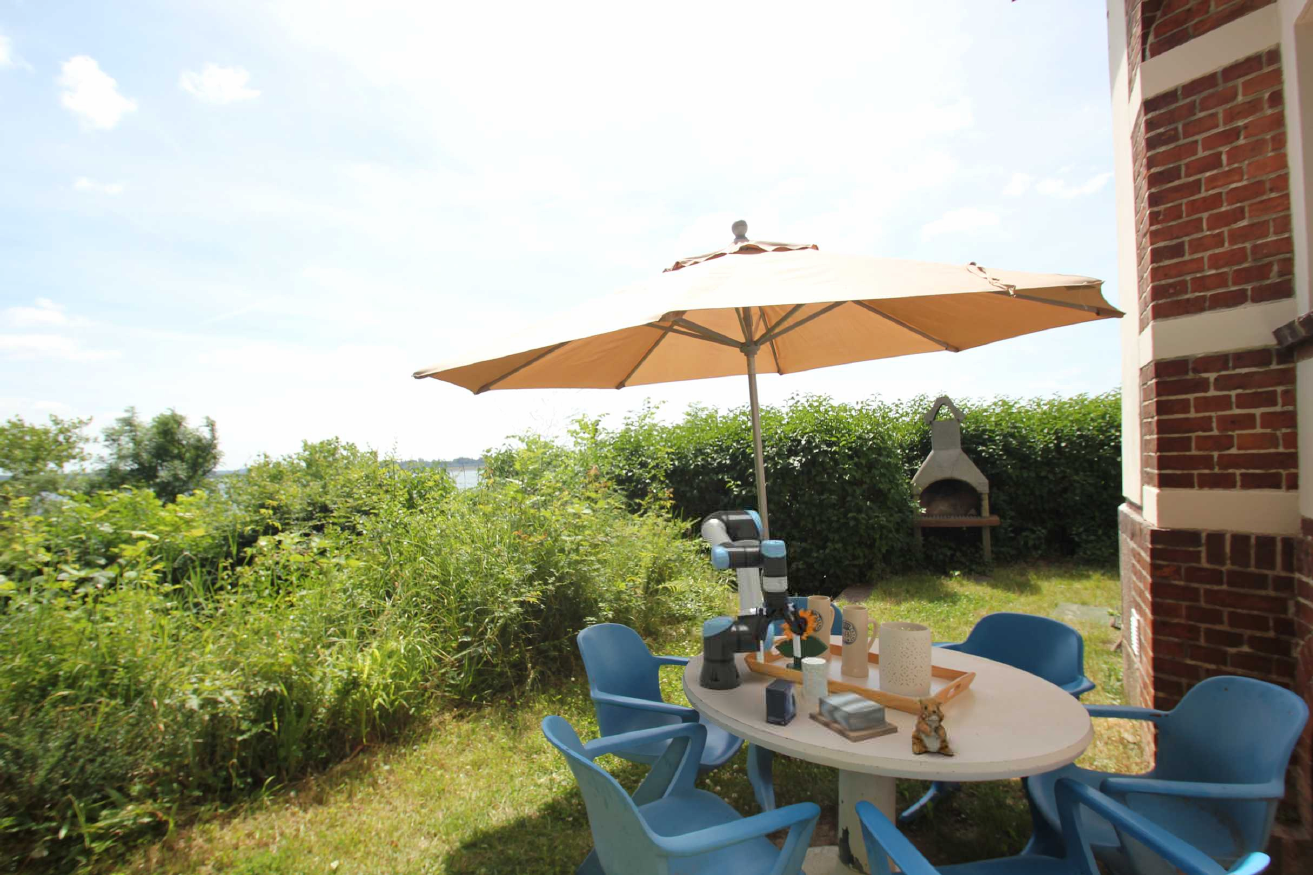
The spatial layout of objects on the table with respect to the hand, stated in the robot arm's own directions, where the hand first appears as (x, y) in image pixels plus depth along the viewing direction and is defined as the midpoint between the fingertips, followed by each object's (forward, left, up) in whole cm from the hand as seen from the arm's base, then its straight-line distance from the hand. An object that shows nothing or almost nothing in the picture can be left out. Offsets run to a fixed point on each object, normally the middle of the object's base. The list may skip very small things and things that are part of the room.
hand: (779, 659), depth 181 cm
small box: (0, 0, -18) cm, 18 cm away
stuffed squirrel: (+34, +25, -18) cm, 46 cm away
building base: (+13, +16, -18) cm, 27 cm away
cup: (-11, +21, -18) cm, 30 cm away
